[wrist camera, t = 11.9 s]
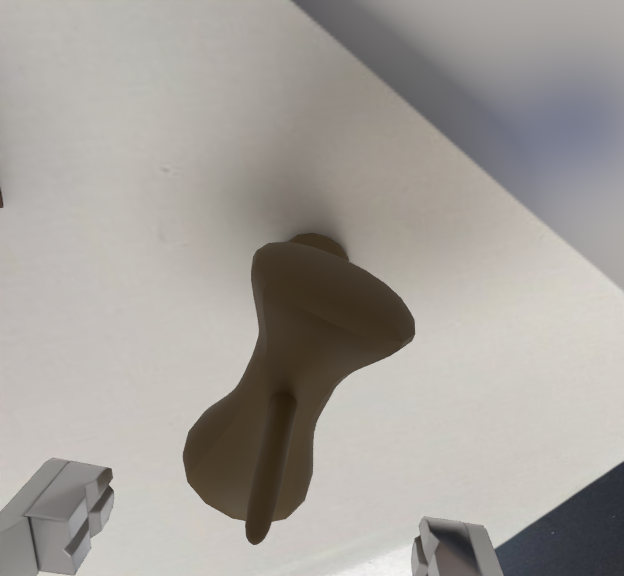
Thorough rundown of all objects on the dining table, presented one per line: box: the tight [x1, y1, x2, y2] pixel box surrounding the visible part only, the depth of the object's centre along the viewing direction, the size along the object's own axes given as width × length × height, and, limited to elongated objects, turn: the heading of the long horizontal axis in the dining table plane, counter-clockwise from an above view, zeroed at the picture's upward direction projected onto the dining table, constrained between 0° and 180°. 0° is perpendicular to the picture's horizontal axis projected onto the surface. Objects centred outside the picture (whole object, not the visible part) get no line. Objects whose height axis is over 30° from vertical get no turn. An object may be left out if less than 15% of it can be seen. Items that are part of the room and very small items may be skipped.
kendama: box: [183, 233, 415, 545], centre depth 19 cm, size 6×10×20 cm, turn 156°
